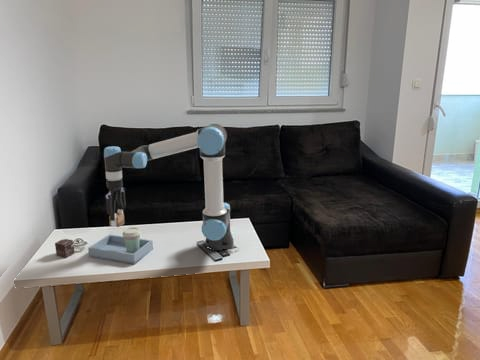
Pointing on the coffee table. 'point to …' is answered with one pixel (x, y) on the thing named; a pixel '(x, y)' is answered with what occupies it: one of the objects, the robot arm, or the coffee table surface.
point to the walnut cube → (118, 219)
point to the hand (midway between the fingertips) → (117, 223)
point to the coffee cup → (131, 239)
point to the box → (64, 248)
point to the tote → (119, 249)
